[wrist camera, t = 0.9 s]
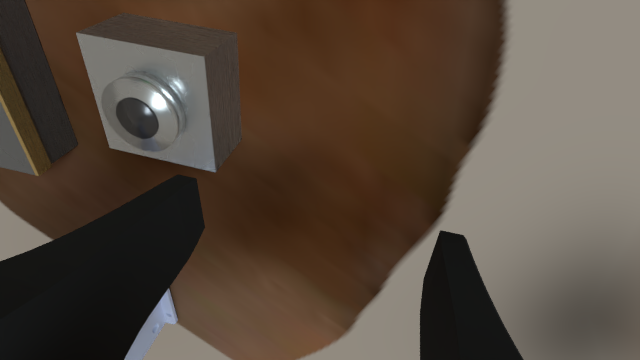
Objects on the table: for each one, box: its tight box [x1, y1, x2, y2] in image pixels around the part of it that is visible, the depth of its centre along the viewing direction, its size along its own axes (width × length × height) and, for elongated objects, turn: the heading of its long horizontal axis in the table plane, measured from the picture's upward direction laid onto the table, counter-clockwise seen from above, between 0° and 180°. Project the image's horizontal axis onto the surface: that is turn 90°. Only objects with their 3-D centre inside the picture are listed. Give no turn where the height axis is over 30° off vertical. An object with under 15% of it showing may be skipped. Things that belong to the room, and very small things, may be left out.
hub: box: [76, 13, 242, 172], centre depth 19 cm, size 6×6×5 cm
